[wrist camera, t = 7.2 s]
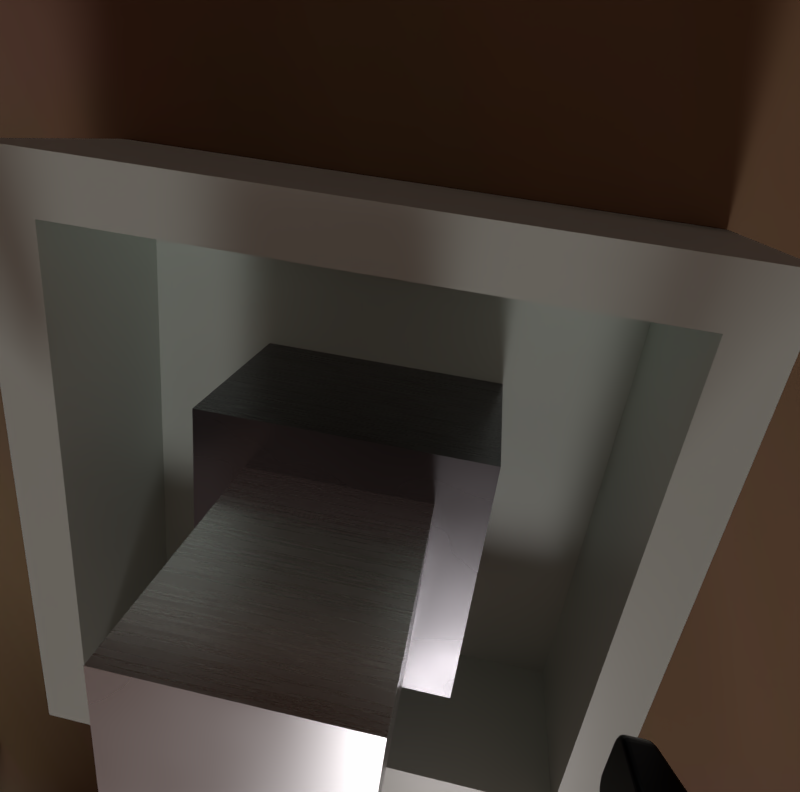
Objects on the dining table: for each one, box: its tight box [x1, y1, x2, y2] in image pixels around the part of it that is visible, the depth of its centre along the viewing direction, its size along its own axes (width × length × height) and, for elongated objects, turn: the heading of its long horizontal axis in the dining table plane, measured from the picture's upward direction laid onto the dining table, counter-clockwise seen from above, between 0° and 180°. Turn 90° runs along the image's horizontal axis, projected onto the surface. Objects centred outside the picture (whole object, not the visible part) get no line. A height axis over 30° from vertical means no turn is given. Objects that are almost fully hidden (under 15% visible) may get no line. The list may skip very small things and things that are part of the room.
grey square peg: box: [83, 343, 503, 792], centre depth 10 cm, size 5×5×8 cm
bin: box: [0, 138, 800, 792], centre depth 12 cm, size 12×12×4 cm
